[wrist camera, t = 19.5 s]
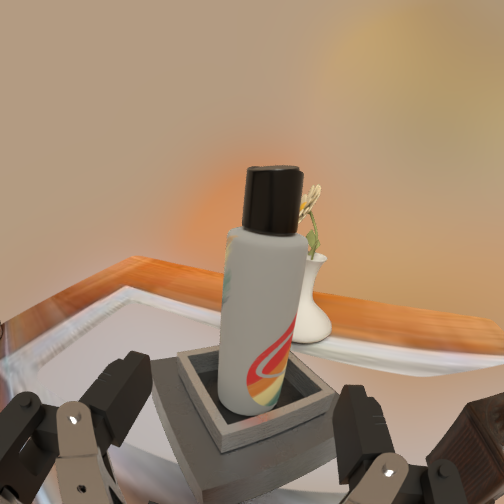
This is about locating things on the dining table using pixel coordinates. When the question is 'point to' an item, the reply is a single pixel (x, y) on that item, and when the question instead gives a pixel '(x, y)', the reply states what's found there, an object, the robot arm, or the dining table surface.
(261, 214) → the lotion bottle
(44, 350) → the dining table surface
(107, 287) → the dining table surface
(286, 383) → the gray square holder
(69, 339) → the dining table surface
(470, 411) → the bronze sculpture
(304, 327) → the flower in vase
